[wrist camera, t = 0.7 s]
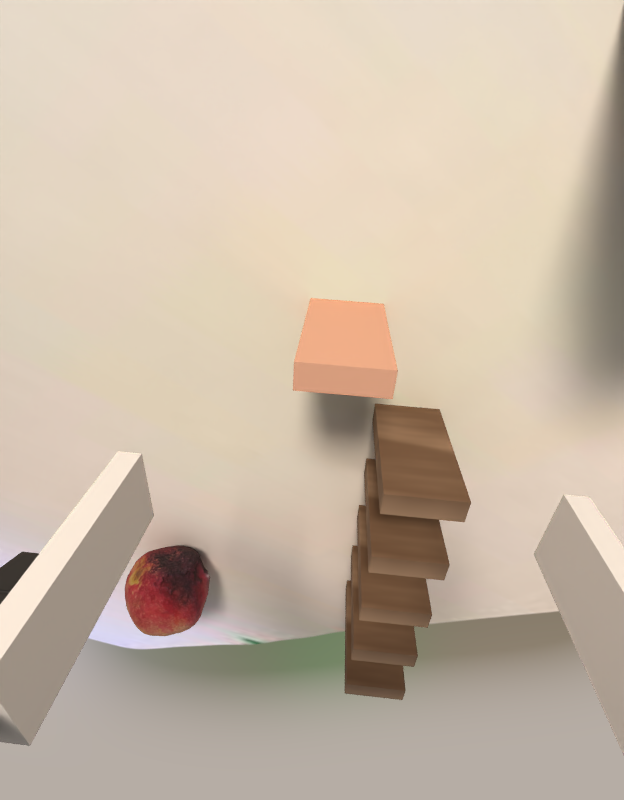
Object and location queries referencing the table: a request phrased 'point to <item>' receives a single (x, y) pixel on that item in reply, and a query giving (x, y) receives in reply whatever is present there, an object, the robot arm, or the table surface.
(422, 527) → the domino
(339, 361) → the domino
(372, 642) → the domino
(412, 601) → the domino
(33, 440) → the table surface
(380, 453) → the domino
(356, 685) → the domino
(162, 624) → the fruit
